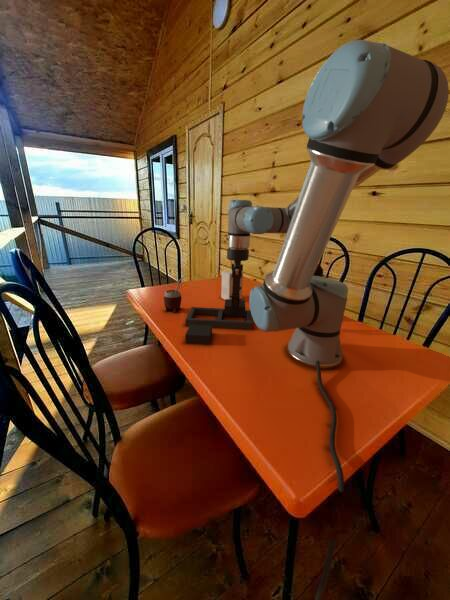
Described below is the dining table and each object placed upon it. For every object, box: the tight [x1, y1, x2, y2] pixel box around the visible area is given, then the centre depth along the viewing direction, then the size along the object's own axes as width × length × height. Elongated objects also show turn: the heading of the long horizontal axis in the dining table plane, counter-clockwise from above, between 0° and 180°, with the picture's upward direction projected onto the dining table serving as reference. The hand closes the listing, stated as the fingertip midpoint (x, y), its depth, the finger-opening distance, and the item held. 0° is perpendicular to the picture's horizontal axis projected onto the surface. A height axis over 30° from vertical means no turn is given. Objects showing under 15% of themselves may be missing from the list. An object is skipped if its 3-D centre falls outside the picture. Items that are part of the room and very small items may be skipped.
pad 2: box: [223, 299, 246, 315], centre depth 94 cm, size 8×8×3 cm
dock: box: [185, 306, 253, 331], centre depth 96 cm, size 13×24×2 cm, turn 87°
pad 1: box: [185, 325, 213, 346], centre depth 82 cm, size 8×8×3 cm
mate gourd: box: [163, 275, 187, 314], centre depth 102 cm, size 8×8×15 cm
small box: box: [220, 269, 244, 301], centre depth 120 cm, size 8×6×13 cm
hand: (234, 309), depth 95 cm, fingers closed on pad 2, 7 cm apart
